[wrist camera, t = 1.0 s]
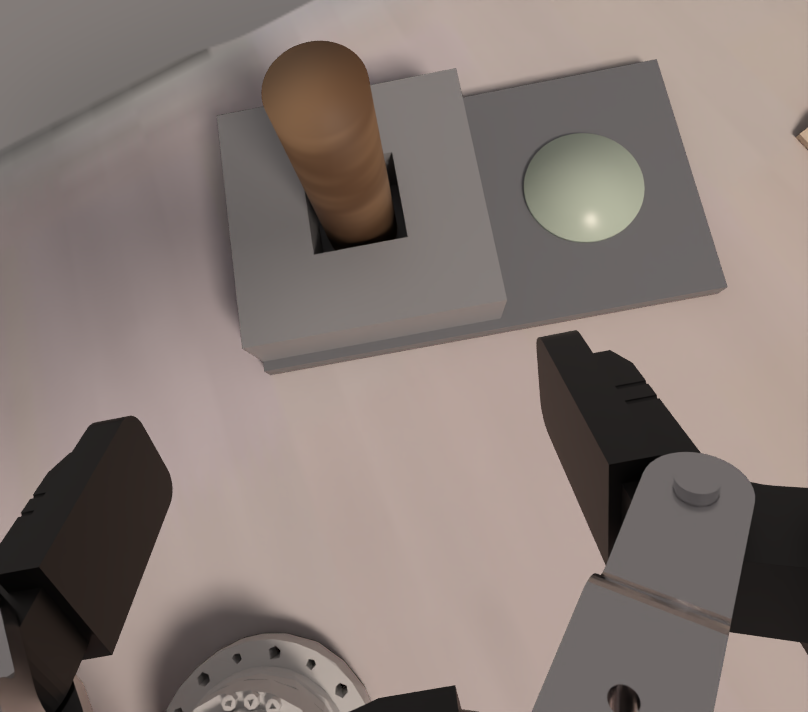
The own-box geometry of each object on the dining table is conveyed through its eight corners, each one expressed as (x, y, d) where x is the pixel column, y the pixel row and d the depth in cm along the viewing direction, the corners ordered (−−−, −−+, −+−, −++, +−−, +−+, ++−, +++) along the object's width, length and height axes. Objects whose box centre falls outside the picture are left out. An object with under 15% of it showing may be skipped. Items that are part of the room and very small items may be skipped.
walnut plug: (333, 268, 29) (268, 146, 18) (323, 205, 30) (255, 52, 19) (402, 255, 29) (377, 125, 18) (391, 192, 30) (360, 31, 19)
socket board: (270, 375, 29) (243, 359, 25) (243, 151, 32) (215, 107, 28) (717, 293, 28) (761, 264, 24) (649, 72, 31) (679, 14, 27)
